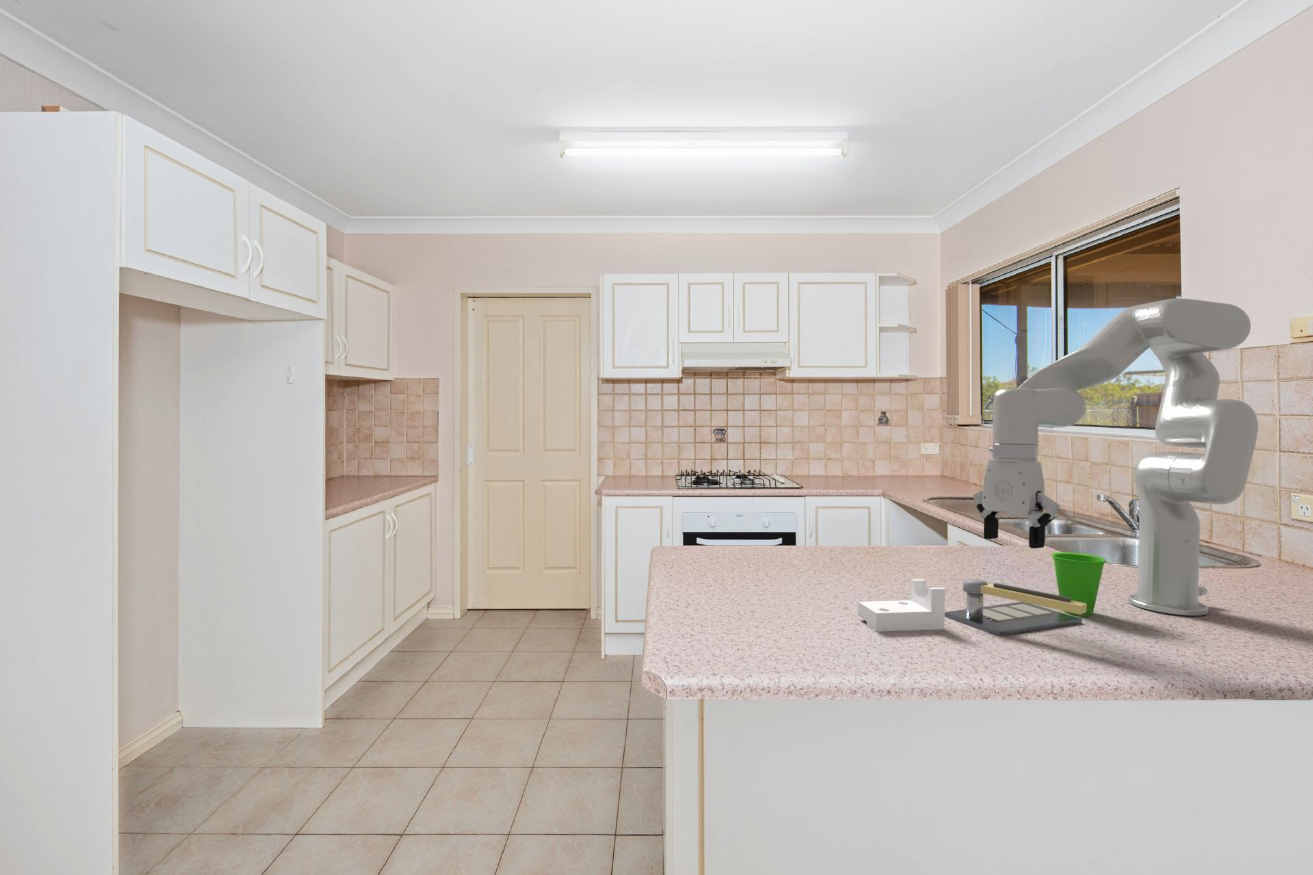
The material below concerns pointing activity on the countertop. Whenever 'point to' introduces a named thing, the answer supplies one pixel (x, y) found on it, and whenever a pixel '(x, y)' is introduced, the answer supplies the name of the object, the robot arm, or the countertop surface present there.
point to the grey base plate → (1009, 616)
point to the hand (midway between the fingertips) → (1012, 543)
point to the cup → (1078, 577)
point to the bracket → (907, 610)
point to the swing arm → (1024, 595)
